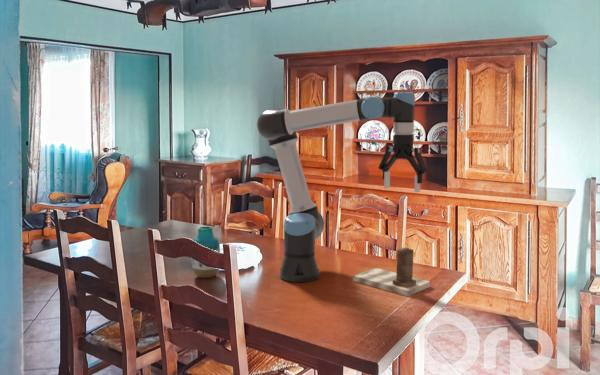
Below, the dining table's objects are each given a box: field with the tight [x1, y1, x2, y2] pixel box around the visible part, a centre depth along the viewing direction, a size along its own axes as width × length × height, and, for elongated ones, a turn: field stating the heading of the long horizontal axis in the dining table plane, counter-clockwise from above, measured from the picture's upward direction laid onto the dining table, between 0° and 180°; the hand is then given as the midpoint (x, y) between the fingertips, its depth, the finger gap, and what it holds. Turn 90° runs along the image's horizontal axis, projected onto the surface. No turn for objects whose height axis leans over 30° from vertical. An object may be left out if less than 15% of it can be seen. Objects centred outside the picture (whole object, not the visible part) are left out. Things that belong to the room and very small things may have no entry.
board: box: [352, 267, 431, 297], centre depth 198 cm, size 24×14×2 cm, turn 46°
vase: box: [191, 225, 221, 279], centre depth 205 cm, size 11×11×19 cm
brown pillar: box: [393, 246, 416, 288], centre depth 191 cm, size 6×6×13 cm
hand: (401, 190), depth 206 cm, fingers open, 13 cm apart
